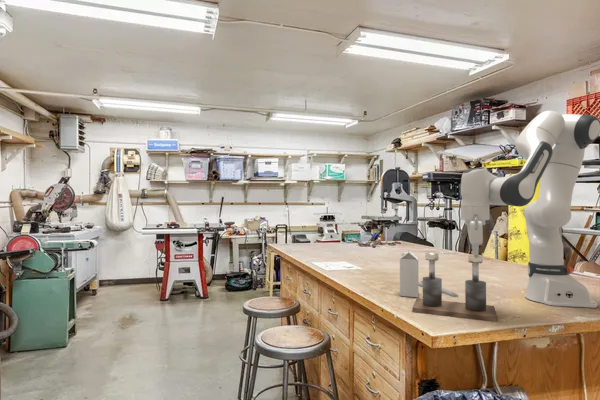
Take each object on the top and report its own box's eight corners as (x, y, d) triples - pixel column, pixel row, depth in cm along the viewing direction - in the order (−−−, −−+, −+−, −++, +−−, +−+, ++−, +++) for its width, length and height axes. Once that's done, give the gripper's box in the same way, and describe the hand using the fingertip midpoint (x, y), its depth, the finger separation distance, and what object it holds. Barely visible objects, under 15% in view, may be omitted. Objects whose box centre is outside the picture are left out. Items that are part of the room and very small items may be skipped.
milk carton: (418, 293, 150) (418, 248, 151) (418, 297, 144) (418, 250, 144) (400, 292, 153) (400, 247, 153) (399, 296, 146) (399, 249, 146)
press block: (493, 310, 127) (493, 279, 127) (497, 321, 114) (497, 287, 114) (416, 302, 138) (416, 273, 138) (412, 311, 125) (412, 280, 125)
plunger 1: (438, 276, 130) (438, 252, 130) (438, 279, 126) (438, 254, 126) (426, 275, 132) (425, 252, 132) (425, 278, 128) (424, 253, 128)
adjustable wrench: (459, 298, 145) (459, 294, 145) (445, 299, 144) (445, 294, 144) (426, 284, 170) (426, 280, 170) (414, 285, 168) (414, 281, 168)
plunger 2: (482, 280, 124) (482, 254, 124) (483, 282, 120) (482, 256, 120) (468, 279, 126) (468, 254, 126) (468, 281, 122) (468, 255, 122)
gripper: (487, 215, 113) (487, 259, 112) (483, 214, 131) (483, 252, 131) (465, 215, 115) (465, 258, 115) (464, 214, 134) (464, 251, 134)
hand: (475, 255), depth 123 cm, fingers closed, pressing on plunger 2
